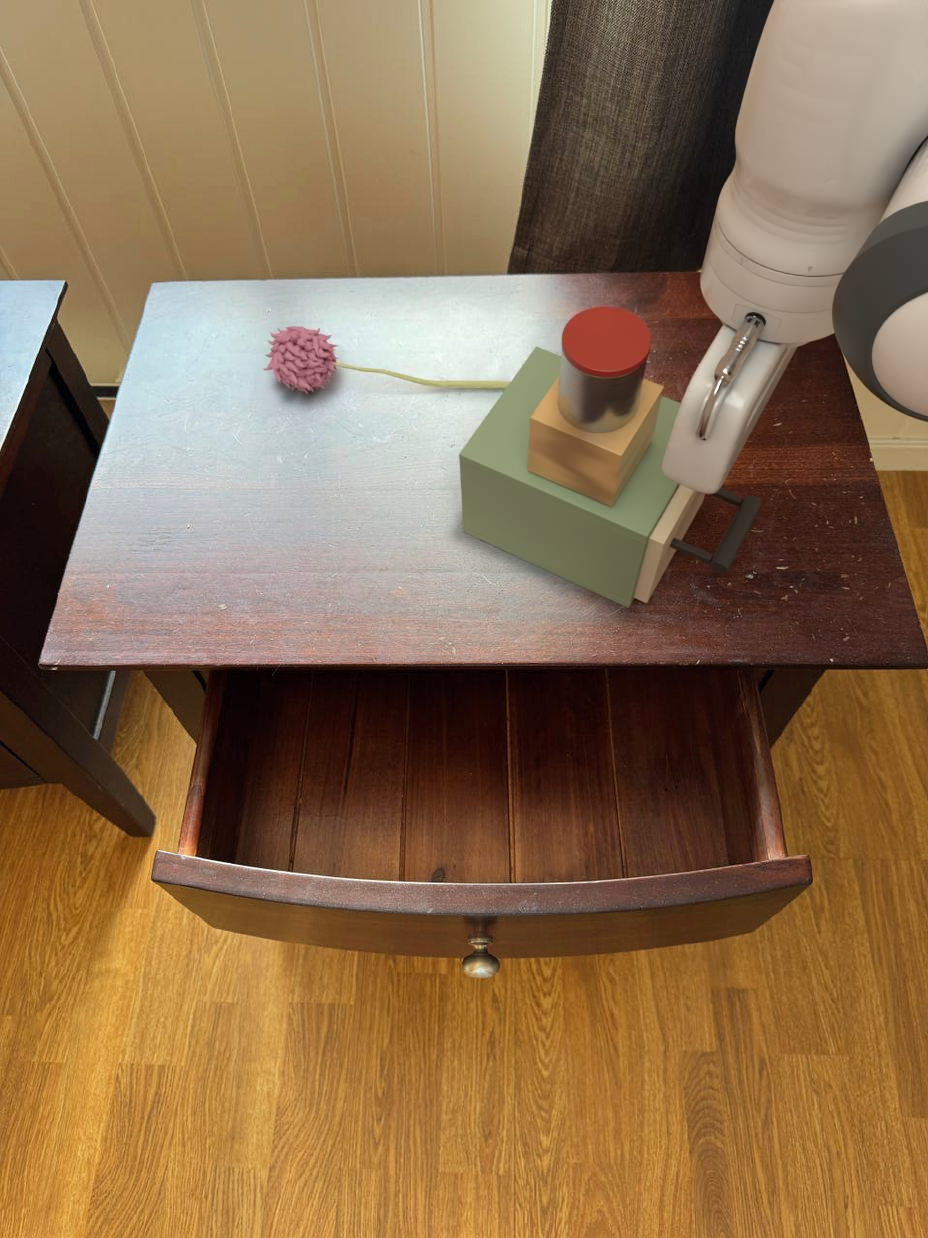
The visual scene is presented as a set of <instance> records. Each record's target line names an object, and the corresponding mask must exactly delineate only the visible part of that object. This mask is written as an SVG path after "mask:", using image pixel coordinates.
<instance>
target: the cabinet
mask: <svg viewBox="0 0 928 1238" xmlns="http://www.w3.org/2000/svg"><path fill="white" fill-rule="evenodd" d="M560 363H561V355H560V354H557V353H554V352H552V351H549V350H547V349H545V348H542V347H539V346H534V349H533V350H532V352H531V353H530V354H529V355H528V357H527V359H526V360H525V361H524V362H523V364H522V365H521V367H520V368H519V370H518V371H517V372H516V374H515V375H514V377H513V378H512V379H511V381H509V382H510V384H509V385H508V387H507V388H506V389H505V388H504V390H503V392H502V394H500V396H499V398H498V399H497V401H496V402H495V403H494V405H493V406H492V407H491V409H490V410H489V412H488V413H487V415H486V416H485V417H484V419H482V421H481V423H480V424H479V426H478V427H477V429H475V431H474V433H473V434H472V436H471V437H470V438H469V440H468V441H467V443H466V444H465V445H464V447H463V448H462V449H461V451H460V452H459V453H458V458H459V459H458V460H459V475H460V476H459V477H460V491H461V492H460V493H461V495H460V496H461V508H462V509H461V511H462V529H463V533H466V534H467V535H469V536H471V537H474V538H476V539H478V540H480V541H483V542H484V543H487V544H488V545H490V546H493V547H496V548H497V549H499V550H502V551H504V552H506V553H508V554H511V555H513V556H514V557H517V558H519V559H521V560H523V561H525V562H527V563H530V564H532V565H534V566H536V567H539V568H541V569H543V570H545V571H547V572H549V573H551V574H554V575H556V576H558V577H560V578H562V579H565V580H567V581H568V582H570V583H573V584H575V585H578V586H580V587H582V588H584V589H586V590H588V591H591V592H593V593H595V594H597V595H598V596H601V597H604V598H606V599H607V600H609V601H611V602H614V603H616V604H619V605H620V606H623V607H625V608H627V609H630V607H631V605H632V603H633V601H634V600H635V598H634V593H635V589H636V586H637V582H638V578H639V574H640V570H641V566H642V563H643V559H644V555H645V551H646V547H647V543H648V539H649V537H650V535H651V533H652V531H653V530H654V528H655V526H656V524H657V523H658V521H659V519H660V517H661V516H662V514H663V512H664V510H665V509H666V507H667V505H668V503H669V502H670V500H671V498H672V496H673V495H674V493H675V491H676V489H677V487H678V486H679V484H678V483H676V482H674V481H672V480H670V479H669V478H667V477H666V476H665V475H664V474H663V472H662V462H663V458H664V455H665V451H666V448H667V445H668V441H669V438H670V435H671V432H672V429H673V425H674V422H675V419H676V416H677V413H678V410H679V407H680V404H681V402H678V401H676V400H673V399H671V398H669V397H666V396H663V395H662V399H661V403H660V407H659V412H658V416H657V421H656V425H655V429H654V434H653V438H652V442H651V443H650V445H649V447H648V448H647V450H646V452H645V453H644V455H643V457H642V458H641V460H640V462H639V463H638V465H637V467H636V468H635V470H634V472H633V473H632V475H631V477H630V478H629V480H628V482H627V483H626V485H625V487H624V488H623V490H622V492H621V493H620V495H619V497H618V498H617V500H616V502H615V503H614V505H613V506H612V507H610V506H608V505H606V504H603V503H601V502H599V501H596V500H594V499H592V498H589V497H587V496H585V495H583V494H580V493H578V492H576V491H573V490H571V489H569V488H566V487H564V486H562V485H560V484H557V483H555V482H553V481H550V480H548V479H546V478H543V477H541V476H539V475H537V474H534V473H532V472H530V471H528V450H529V429H530V417H531V415H532V414H533V413H534V411H535V410H536V408H537V407H538V405H539V404H540V402H541V401H542V399H543V398H544V397H545V395H546V394H547V392H548V391H549V389H550V388H551V386H552V385H553V383H554V382H555V381H556V379H557V378H558V376H559V375H560Z"/></svg>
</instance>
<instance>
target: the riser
mask: <svg viewBox="0 0 928 1238" xmlns="http://www.w3.org/2000/svg"><path fill="white" fill-rule="evenodd" d="M558 386H559V376H558V378H557V379H556V381H555V382H554V383H553V385H552V386H551V388H550V389H549V391H548V392H547V394H546V395H545V397H544V398H543V399H542V401H541V402H540V404H539V405H538V407H537V408H536V410H535V411H534V413H533V414H532V415H531V417H530V429H529V450H528V471H530V472H532V473H534V474H537V475H539V476H541V477H543V478H546V479H548V480H550V481H553V482H555V483H557V484H560V485H562V486H564V487H566V488H569V489H571V490H573V491H576V492H578V493H580V494H583V495H585V496H587V497H589V498H592V499H594V500H596V501H599V502H601V503H603V504H606V505H608V506H610V507H612V506H613V505H614V503H615V502H616V500H617V498H618V497H619V495H620V493H621V492H622V490H623V488H624V487H625V485H626V483H627V482H628V480H629V478H630V477H631V475H632V473H633V472H634V470H635V468H636V467H637V465H638V463H639V462H640V460H641V458H642V457H643V455H644V453H645V452H646V450H647V448H648V447H649V445H650V443H651V442H652V438H653V434H654V429H655V425H656V421H657V416H658V412H659V407H660V403H661V399H662V396H663V394H664V391H665V390H664V389H665V386H664V385H661V384H659V383H656V382H654V381H652V380H649V379H646V378H644V379H643V384H642V389H641V394H640V399H639V404H638V409H637V412H636V414H635V416H634V417H633V419H632V420H631V421H630V422H629V423H628V424H626V425H625V426H624V427H622V428H620V429H618V430H615V431H611V432H606V433H593V432H587V431H584V430H581V429H578V428H576V427H575V426H573V425H571V424H570V423H569V422H568V421H567V420H566V419H565V418H564V417H563V416H562V414H561V412H560V411H559V408H558V403H557V398H558Z"/></svg>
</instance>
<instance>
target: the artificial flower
mask: <svg viewBox="0 0 928 1238" xmlns="http://www.w3.org/2000/svg"><path fill="white" fill-rule="evenodd" d="M284 328H285V329H283V330H281V329H280V328H279V327H277V333H273V332H271V331H269V334H270V336H271V337H272V338H273V339H274V340H272V341H271V340H268V339H267V342H268V344H269V345H271V348H270V352H269V353H268V354H265V357H266V358H271V359H270V362H269V363H268V364H267V367H265V368H262V370H263V371H272V372H273V375H274V379H275V380H277V381H278V383H280V384H281V383H283V384H284V385H285V386H286V387H287V388H288V389H289V390H291V391H292V392H294V391H295V389H298V391H299V392H301V393H305V394H306V395H309V392H310V391H311V392H312V393H314V388H315V389H316V390H319V388H322V389H323V390H326V387H325V386H324V385H326V386H328V384H327V383H326V382H328V383H331V380H330V379H329V378H335V377H336V376H335V375H334V374H332V373H336V371H338V369H337V367H340V368H344V369H349V370H354V371H358V372H364V373H374V374H375V373H376V374H382V375H387V376H391V377H393V378H398V379H400V380H404V381H407V382H410V383H414V384H418V385H421V386H428V387H435V388H480V389H481V388H482V389H485V388H486V389H504V390H505V389H506V388H507V387H508V385H509V384H510V382H511V381H505V380H433V379H424V378H420V377H415V376H412V375H408V374H404V373H399V372H396V371H391V370H387V369H383V368H372V367H359V366H353V365H350V364H349V365H348V364H345V363H339V362H337V360H338V359H339V357H336V355H335V352H334V351H336V349H335V348H336V347H339V345H338V344H332V343H329V342H328V341H327V340H329V339H330V338H331V337H332V334H328V335H326V334H324V333H320V332H321V327H318V329H310V328H306V327H304V326H296V325H292V326H285V327H284ZM335 370H336V371H335ZM308 391H309V392H308Z"/></svg>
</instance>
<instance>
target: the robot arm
mask: <svg viewBox="0 0 928 1238" xmlns="http://www.w3.org/2000/svg"><path fill="white" fill-rule="evenodd" d="M734 134H735V136H734V144H735V163H734V166H733V169H732V171H731V173H730V174H729V176H728V177H727V179H726V180H725V182H724V185H723V186H722V188H721V191H720V193H719V197H718V200H717V203H716V208H715V212H714V216H713V219H712V220H713V221H712V225H711V229H710V233H709V237H708V241H707V245H706V249H705V253H704V258H703V262H702V266H701V270H700V277H699V284H700V290H701V291H700V292H701V294H702V296H703V297H702V298H703V299H704V301H705V303H706V304H707V306H708V308H709V309H710V310H711V311H712V313H713V314H714V315H715V316H716V317H717V318H718V319H719V320H720V322H721V324H722V325H721V327H720V328H719V330H718V332H717V334H716V335H715V337H714V339H713V341H712V342H711V344H710V346H709V347H708V349H707V350H706V352H705V354H704V356H703V358H701V361H700V362H699V364H698V366H697V367H696V369H695V371H694V373H693V375H692V376H691V379H690V381H689V383H688V385H687V387H686V390H685V392H684V393H683V394H684V395H683V396H682V400H681V402H680V403H681V404H680V407H679V410H678V413H677V416H676V419H675V422H674V425H673V429H672V432H671V435H670V438H669V441H668V445H667V448H666V451H665V455H664V458H663V462H662V472H663V474H664V475H665V476H666V477H667V478H669V479H670V480H672V481H674V482H676V483H678V484H680V485H682V486H684V487H687V488H689V489H692V490H695V491H698V492H701V493H705V495H709V494H714V493H716V492H717V491H718V490H719V489H720V488H721V489H722V487H723V485H724V483H725V481H726V480H727V478H728V476H729V474H730V473H731V470H732V468H733V467H734V465H735V464H736V461H737V460H738V457H739V456H740V454H741V452H742V450H743V449H744V447H745V444H746V442H747V441H748V439H749V437H750V435H751V433H752V431H754V428H755V426H756V424H757V422H758V421H759V419H760V417H761V415H762V413H763V411H764V409H765V408H766V406H767V404H768V402H769V400H770V398H771V397H772V395H773V393H774V391H775V389H776V387H777V386H778V384H779V382H780V380H781V378H782V376H783V374H784V372H785V371H786V369H787V367H788V366H789V363H790V362H791V359H792V358H793V356H794V354H795V352H796V350H797V349H798V347H801V346H804V345H806V344H808V343H810V342H815V341H818V340H821V339H824V338H827V337H829V336H831V335H833V334H834V337H835V338H836V342H837V344H838V346H839V348H840V350H841V353H842V355H843V357H844V359H845V360H846V362H847V364H848V366H849V367H850V369H851V371H852V372H853V373H854V375H855V376H856V377H857V379H858V380H859V381H860V382H861V383H862V385H863V386H864V387H865V389H867V390H868V392H870V393H871V394H873V395H874V396H875V397H876V398H877V399H878V400H880V401H881V402H883V403H884V404H885V405H887V406H889V407H890V408H891V409H893V410H895V411H897V412H899V413H901V414H903V415H905V416H908V417H910V418H913V419H915V420H919V421H922V422H925V423H928V0H773V3H772V5H771V8H770V10H769V13H768V15H767V18H766V21H765V24H764V26H763V29H762V33H761V35H760V38H759V40H758V44H757V48H756V51H755V54H754V57H753V59H752V63H751V67H750V71H749V74H748V77H747V82H746V85H745V89H744V93H743V97H742V100H741V104H740V108H739V112H738V116H737V121H736V126H735V133H734Z"/></svg>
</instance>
